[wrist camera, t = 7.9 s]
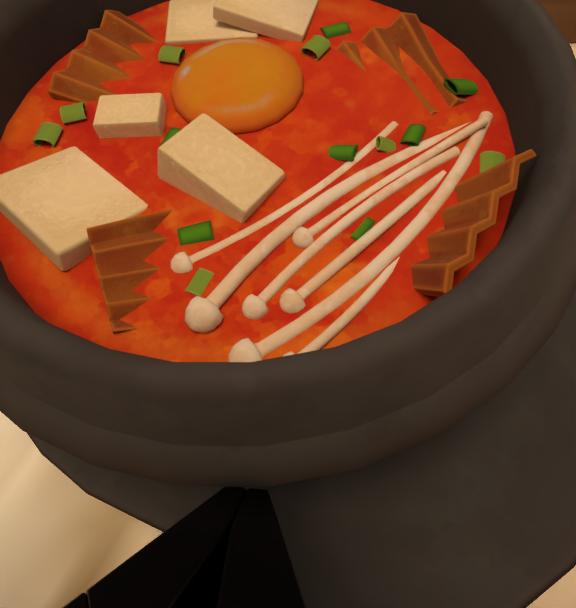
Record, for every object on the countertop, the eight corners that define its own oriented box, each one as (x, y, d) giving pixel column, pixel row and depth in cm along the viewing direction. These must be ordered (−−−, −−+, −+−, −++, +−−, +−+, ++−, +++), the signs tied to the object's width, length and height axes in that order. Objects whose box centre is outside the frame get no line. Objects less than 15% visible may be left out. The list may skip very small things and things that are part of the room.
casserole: (730, 364, 16) (1101, 194, 8) (273, 850, 11) (194, 1444, 4) (266, 11, 25) (246, -215, 18) (-83, 193, 21) (-305, -9, 13)
